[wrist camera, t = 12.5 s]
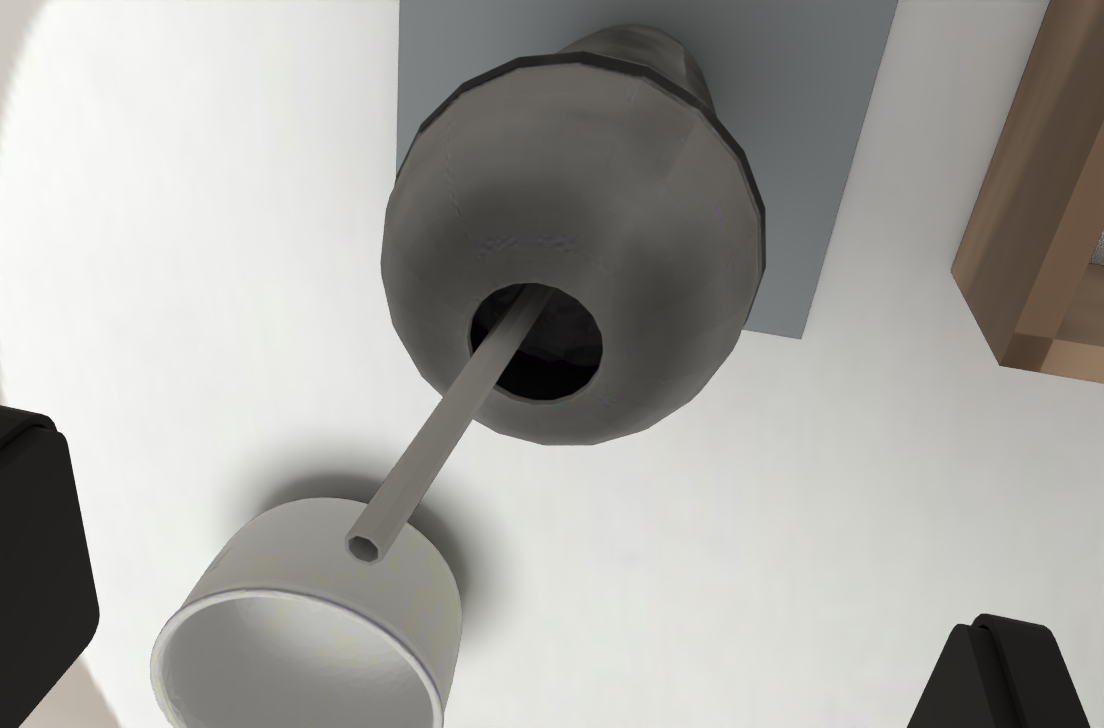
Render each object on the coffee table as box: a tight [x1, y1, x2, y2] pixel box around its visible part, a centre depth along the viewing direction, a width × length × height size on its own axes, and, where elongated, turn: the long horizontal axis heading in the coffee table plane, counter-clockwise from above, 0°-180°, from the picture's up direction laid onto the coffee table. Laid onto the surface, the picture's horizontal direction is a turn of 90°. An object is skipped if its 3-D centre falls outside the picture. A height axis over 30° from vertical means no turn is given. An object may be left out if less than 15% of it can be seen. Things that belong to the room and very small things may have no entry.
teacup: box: [150, 497, 462, 728], centre depth 37 cm, size 14×11×8 cm
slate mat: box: [396, 0, 898, 339], centre depth 27 cm, size 14×14×1 cm
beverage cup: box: [344, 24, 766, 566], centre depth 19 cm, size 7×7×20 cm
